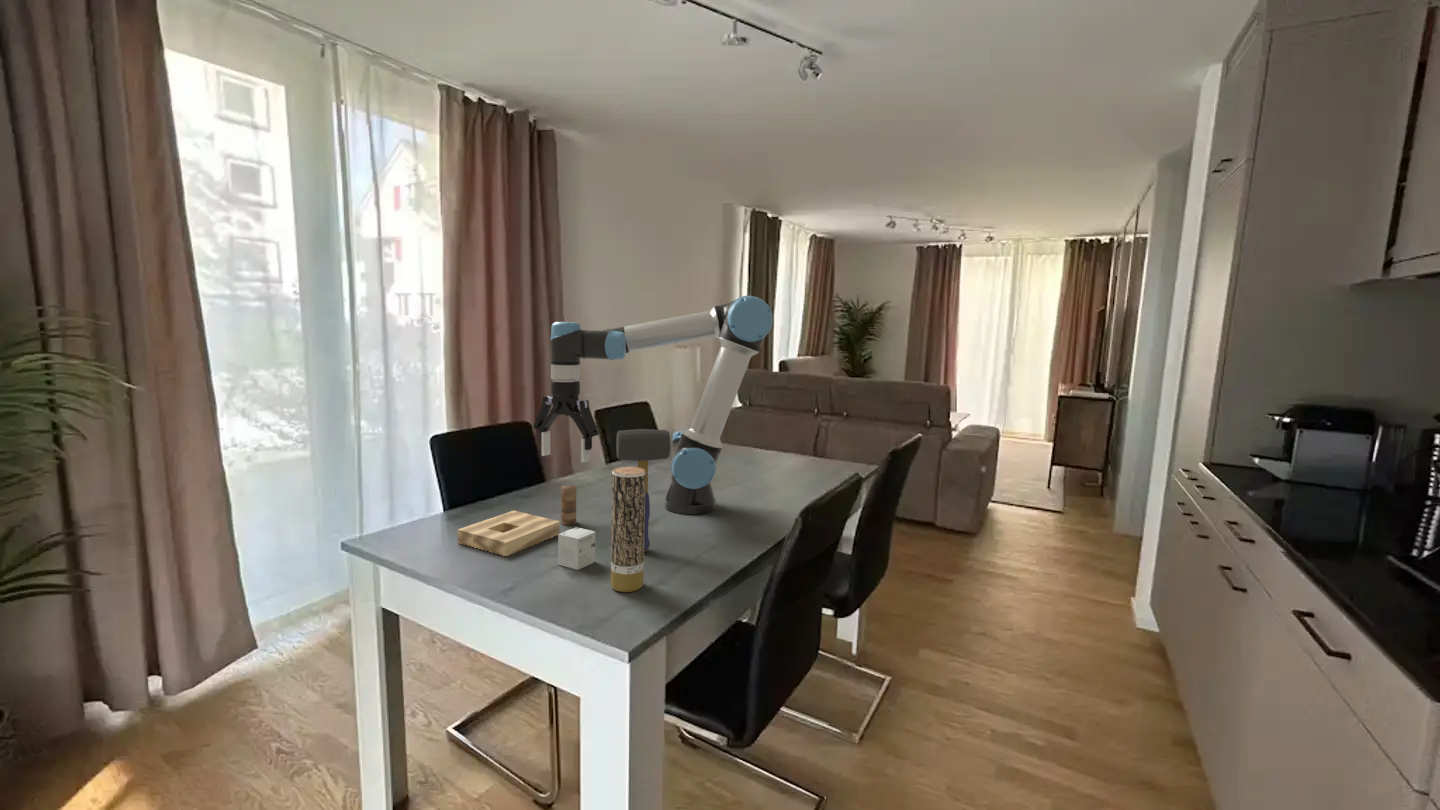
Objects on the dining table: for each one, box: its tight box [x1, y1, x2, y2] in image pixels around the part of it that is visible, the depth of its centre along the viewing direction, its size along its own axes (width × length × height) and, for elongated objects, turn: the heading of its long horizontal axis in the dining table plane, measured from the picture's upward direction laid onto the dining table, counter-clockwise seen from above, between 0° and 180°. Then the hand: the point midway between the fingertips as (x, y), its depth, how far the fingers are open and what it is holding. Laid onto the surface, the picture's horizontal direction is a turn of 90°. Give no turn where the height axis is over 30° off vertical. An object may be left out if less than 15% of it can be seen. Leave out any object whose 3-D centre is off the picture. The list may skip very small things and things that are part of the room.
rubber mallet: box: [615, 428, 671, 553], centre depth 149 cm, size 12×8×30 cm, turn 104°
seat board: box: [457, 510, 561, 557], centre depth 156 cm, size 16×18×4 cm
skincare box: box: [557, 526, 596, 571], centre depth 142 cm, size 6×6×7 cm
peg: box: [560, 484, 577, 526], centre depth 168 cm, size 4×4×10 cm
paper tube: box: [610, 466, 646, 593], centre depth 129 cm, size 7×7×25 cm
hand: (565, 458), depth 169 cm, fingers open, 13 cm apart
